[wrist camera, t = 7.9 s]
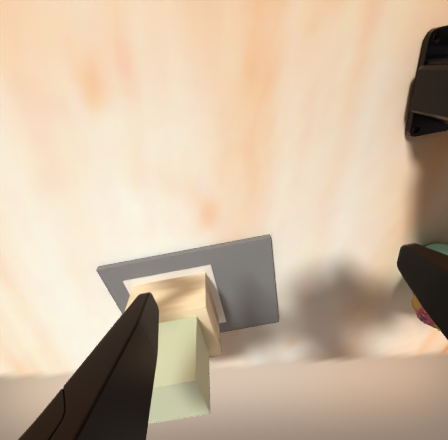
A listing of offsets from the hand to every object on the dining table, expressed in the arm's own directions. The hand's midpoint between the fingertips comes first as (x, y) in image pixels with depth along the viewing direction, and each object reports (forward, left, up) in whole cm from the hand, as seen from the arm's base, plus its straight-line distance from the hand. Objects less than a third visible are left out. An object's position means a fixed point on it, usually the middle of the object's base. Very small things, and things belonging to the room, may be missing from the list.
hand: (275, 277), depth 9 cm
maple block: (+8, +13, -11) cm, 19 cm away
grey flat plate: (+6, +13, -12) cm, 19 cm away
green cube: (+8, +13, -7) cm, 17 cm away
